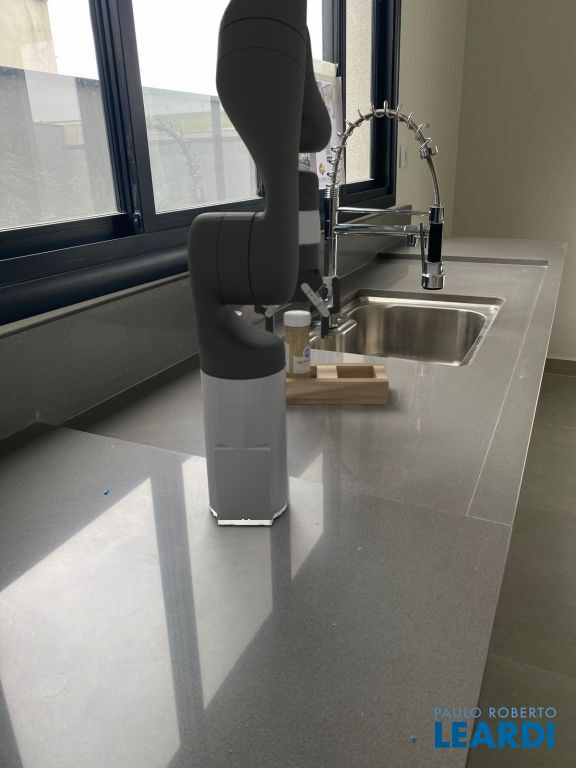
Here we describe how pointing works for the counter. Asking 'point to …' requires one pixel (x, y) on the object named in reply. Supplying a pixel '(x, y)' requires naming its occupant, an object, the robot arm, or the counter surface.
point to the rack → (340, 384)
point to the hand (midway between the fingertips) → (297, 337)
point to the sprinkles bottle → (297, 343)
